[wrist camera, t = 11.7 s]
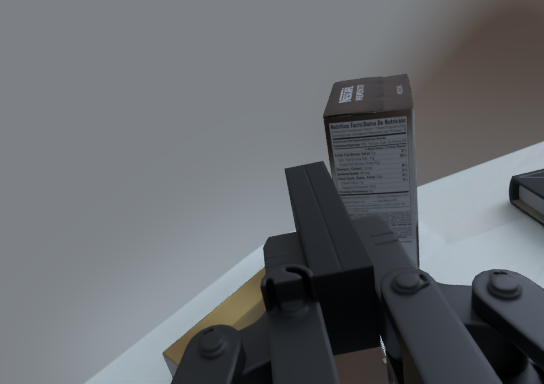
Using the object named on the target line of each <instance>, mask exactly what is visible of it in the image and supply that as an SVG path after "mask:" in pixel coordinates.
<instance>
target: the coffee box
mask: <svg viewBox="0 0 544 384" xmlns="http://www.w3.org/2000/svg"><path fill="white" fill-rule="evenodd" d="M323 119H324V125H325V132H326V140H327V146H328V154H329V161H330V167H331V175H332V180H333V182H334V185H335V187H336V189H337V191H338V193H339V195H340V197H341V199H342V201H343V203H344V205H345V207H346V210H347V212H348V214H349V216H350V218H351V220H352V219H358V218H363V217H368V216H373V215H377V216H379V217H381V218H382V219H384V220H386V221H387V222H388V223H389V225H390V226H391V228H392V229H393V231H394V233H395V234H396V236H397V237H398V239H399V241H400V242H401V244H402V245H403V247H404V249H405V250H406V252H407V253H408V255H409V257H410V258H411V260H412V261H413V263H414V264H415V266H416V268H417V269H419V237H418V205H417V175H416V149H415V125H414V104H413V99H412V94H411V89H410V84H409V79H408V76H407V74H402V75H396V76H388V77H372V78H371V77H370V78H360V79H353V80H346V81H340V82H336V83H334V85H333V88H332V91H331V94H330V96H329V100H328V103H327V106H326V108H325V112H324V114H323Z"/></svg>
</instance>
